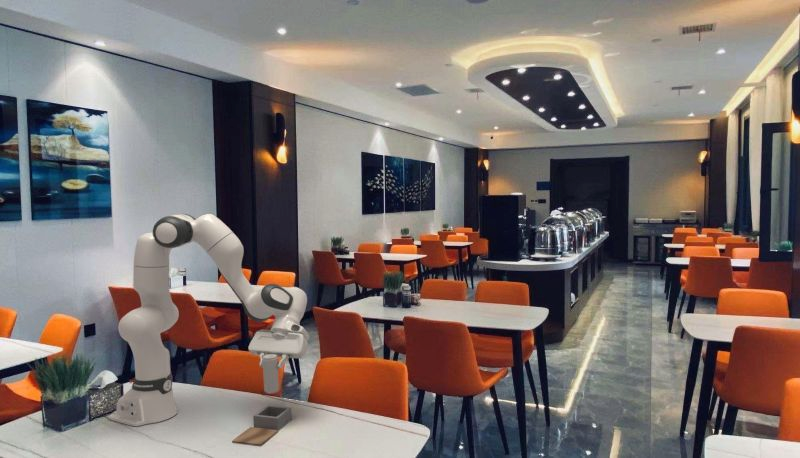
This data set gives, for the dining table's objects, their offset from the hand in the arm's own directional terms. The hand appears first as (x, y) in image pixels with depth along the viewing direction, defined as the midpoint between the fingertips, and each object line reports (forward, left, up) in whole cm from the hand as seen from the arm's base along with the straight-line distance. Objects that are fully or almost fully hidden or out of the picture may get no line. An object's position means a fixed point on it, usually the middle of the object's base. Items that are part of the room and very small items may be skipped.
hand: (270, 367), depth 175 cm
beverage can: (0, 0, -8) cm, 8 cm away
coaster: (0, -10, -19) cm, 22 cm away
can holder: (0, 0, -19) cm, 19 cm away
